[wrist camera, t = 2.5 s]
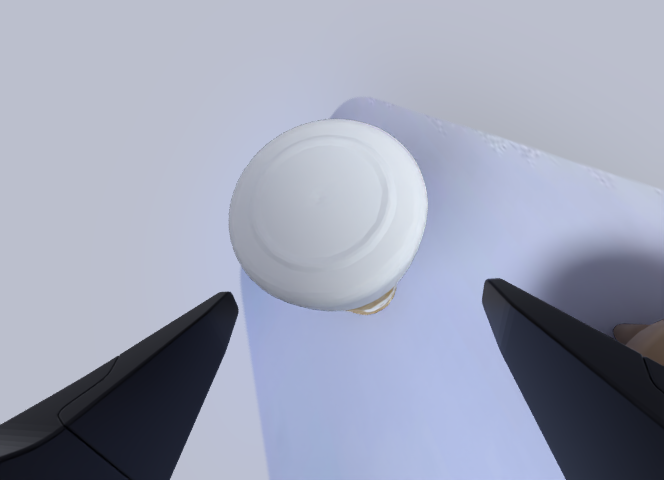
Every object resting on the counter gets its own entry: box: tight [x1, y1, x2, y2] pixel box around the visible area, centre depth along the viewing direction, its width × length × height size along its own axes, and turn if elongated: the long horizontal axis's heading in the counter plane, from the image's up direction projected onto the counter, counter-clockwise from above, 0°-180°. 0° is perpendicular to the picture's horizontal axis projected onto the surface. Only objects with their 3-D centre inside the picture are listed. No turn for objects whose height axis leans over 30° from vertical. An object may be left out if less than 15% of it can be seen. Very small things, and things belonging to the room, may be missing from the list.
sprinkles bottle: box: [229, 119, 428, 315], centre depth 12 cm, size 5×5×13 cm
